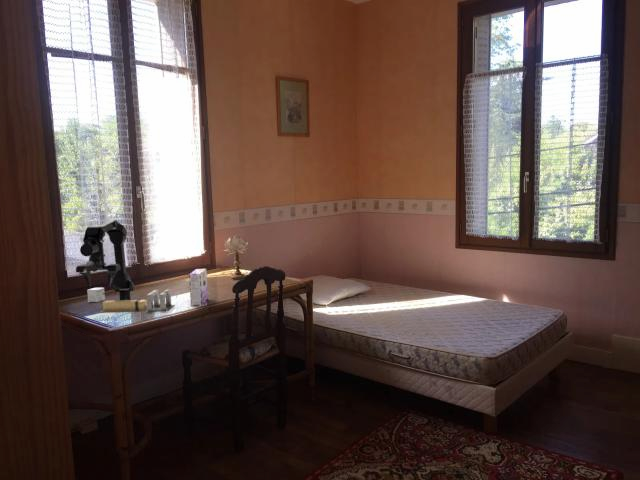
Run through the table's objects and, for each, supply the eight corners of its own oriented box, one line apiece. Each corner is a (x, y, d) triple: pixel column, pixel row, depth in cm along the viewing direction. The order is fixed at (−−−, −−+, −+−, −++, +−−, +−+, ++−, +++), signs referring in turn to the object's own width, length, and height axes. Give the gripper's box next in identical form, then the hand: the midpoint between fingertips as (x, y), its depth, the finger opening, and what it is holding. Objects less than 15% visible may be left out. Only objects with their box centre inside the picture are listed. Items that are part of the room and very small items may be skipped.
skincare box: (97, 304, 278) (96, 290, 277) (87, 303, 280) (86, 289, 279) (105, 301, 284) (104, 287, 283) (96, 300, 286) (95, 287, 285)
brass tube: (106, 308, 264) (106, 300, 263) (147, 307, 263) (146, 299, 263) (103, 310, 260) (102, 302, 259) (144, 309, 259) (143, 301, 259)
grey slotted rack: (108, 308, 268) (106, 290, 267) (175, 306, 267) (174, 289, 266) (97, 314, 256) (96, 296, 255) (168, 313, 255) (167, 294, 254)
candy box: (197, 299, 281) (195, 268, 279) (208, 299, 281) (206, 268, 279) (190, 306, 268) (188, 273, 266) (202, 305, 268) (200, 273, 265)
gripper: (68, 256, 240) (71, 290, 242) (109, 255, 239) (112, 289, 241) (80, 252, 251) (83, 285, 253) (119, 251, 250) (122, 284, 252)
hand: (99, 286), depth 250 cm, fingers open, 9 cm apart
